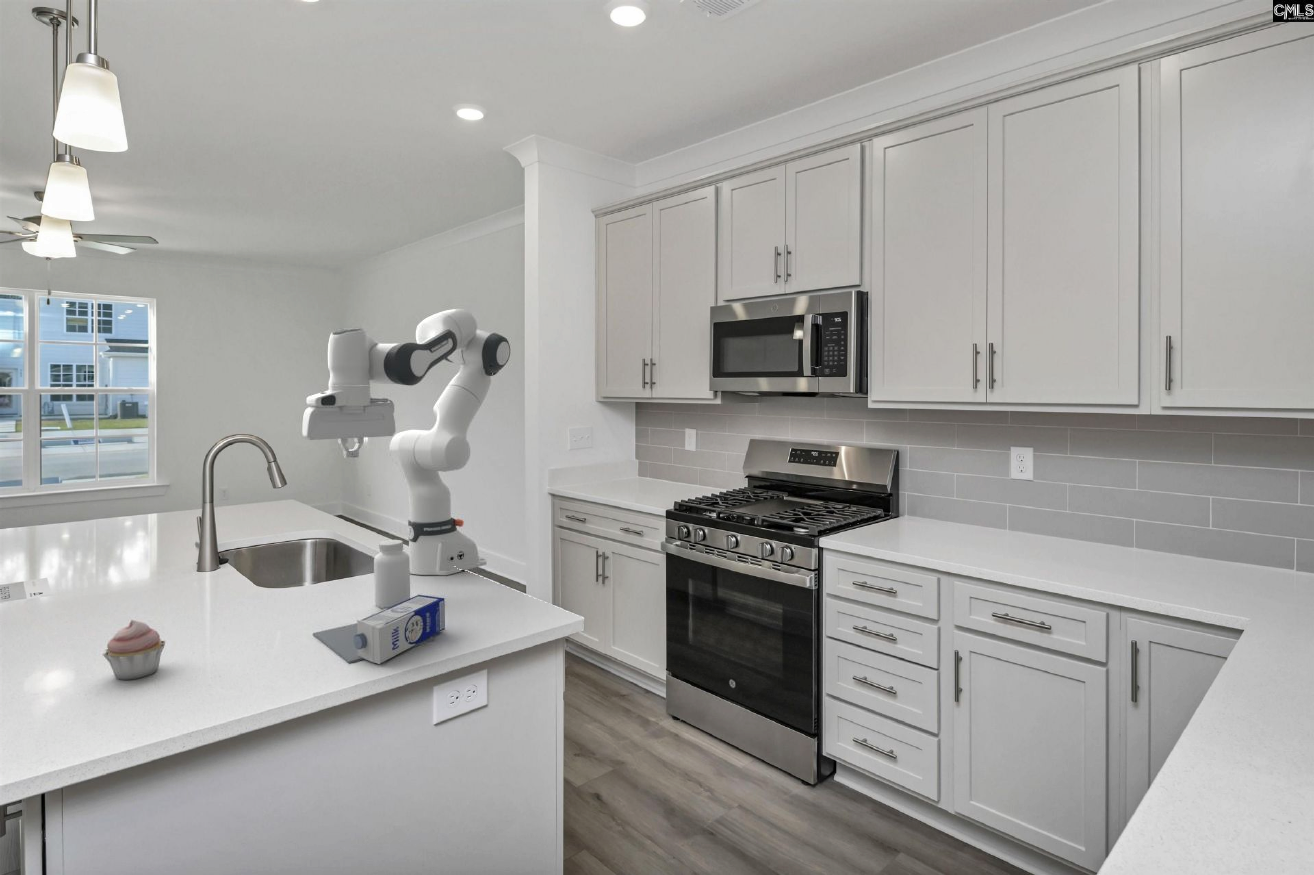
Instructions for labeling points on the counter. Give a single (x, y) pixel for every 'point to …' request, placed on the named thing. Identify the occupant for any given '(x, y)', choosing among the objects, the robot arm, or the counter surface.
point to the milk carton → (399, 627)
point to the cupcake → (134, 651)
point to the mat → (346, 641)
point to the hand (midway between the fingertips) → (351, 457)
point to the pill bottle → (391, 574)
